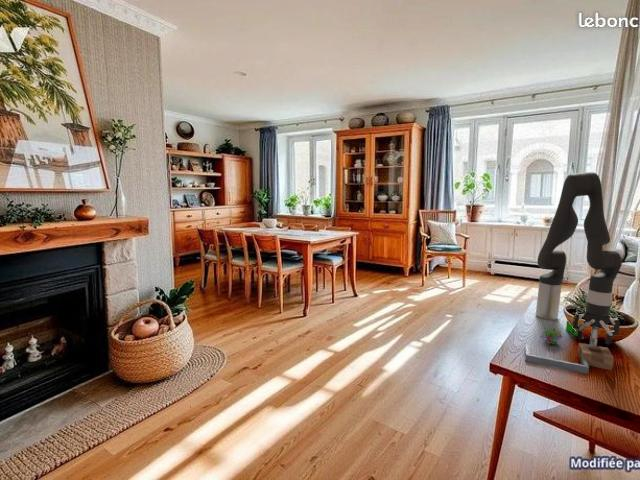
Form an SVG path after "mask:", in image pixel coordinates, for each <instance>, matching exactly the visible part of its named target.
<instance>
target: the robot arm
mask: <svg viewBox="0 0 640 480" xmlns="http://www.w3.org/2000/svg"><path fill="white" fill-rule="evenodd" d="M584 196H585V197H586V196H587V198H588V201H589V207H588V211H587V213H586V216H585V218H584V221H583V230H584V233H585V237H586V242H587V246H586V247H587V248H586V262H587V264H588V266H589V267H590V268H592V269H594V270H599V272H598V273H595V274H592V275H591V276H590V279H589V283H588V284H589V286H588V291H587V293H586V294H587V295H586V301H585V302H586V303H585V308H584V309H585V313H584V314H578V313H577V312H576V313H575V315H574V319H573V324H572V325H573V328H576V329H578V331H577V336H576V337H577V338H578V340H581V341H582V340H583V339H582V334H583V331H582V330H583V329H584V328H587V327H588V326H591V327H594V326H595V327H599V328H602V327H603V328H604V329H605V330H606V331H605V344H606V345H610V344H611V343H612V340H613V339H612V338H613V336H618V335H620V320H619V319H618V317H615V318H612V317H610V315H611V307H612V303H613V302H612V299H613V286H614V281H615V280H616V278H617V276H618V274H619V272H620V270H621V267H622V264H623V259H622V256H621V254H620V253H619V252H617V251H615V250H604V249H603V248H604V247H603V246H605V245H608V244H609V243H610V242H611V237H610V233H609V230H608V225H607V223H606V219H605V212H604V211H605V209H604V199H603V198H604V197H603V190H602V182H601V179H600V176H599V174H597V173H596V172H594V171H590V172H578V173H570V174H569V175H568V176H566V178H565V179H564V182H563V185H562V189H561V193H560V198H559V201H558V205H557V208H556V210H555V213H554V216H553V218H552V221H551V224H550V227H549V230H548V232H547V236H546V239H545V241H544V243H543V244H542V247H541V249H540V251H539V253H538V256H537V265H538V267H539V268H540V269H545V270H552V271H549V272H548V273H545V274H541V275H540V276H539V281H538V290H537V291H538V292H537V297H536V310H535V316H536V317H538V318H541V319H543V320H548V321H549V320H550V321H555V320H558V319H559V318H558V317H559V311H560V302H561V293H562V284H563V280H564V276H565V269H566V265H567V254H566V253H565V251H564V250H560V249H559V250H557V249H556V248H557V247H559V246H560V245H562V244H563V243H565V242H567V241H568V240H569V239H570V238H572V236H573V235H574V233H575V231H576V229H577V226H578V225H579V217H578V215H577V213H576V211H575V208H574V202H575V199H576V198H577V197H584ZM555 249H556V250H555ZM582 317H583V318H584V319H585V321H583V322H582V324H580V325H579V326H578V320H579V319H581V318H582ZM610 322H611V324H612V325H613V330H611V329H610V328H609V326H608V324H609V323H610Z"/></svg>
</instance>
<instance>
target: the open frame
mask: <svg viewBox="0 0 640 480" xmlns="http://www.w3.org/2000/svg"><path fill="white" fill-rule="evenodd" d="M529 348H530V347H529V343H524V359H525V360H524V361H525V362H529V363H533V364H539V365H543V366H548V367H553V368H558V369H561V370H568V371H572V372H578V373H581V374H586V375H588V374H589V369H590V366H588V364H587V361H586V359H585V358H582V359H581V354H580V359H579V362H580V364H579V363H576V362H569V361H566V360H560V359H554V358H550V357H544V356H539V355H534V354H530V350H529ZM581 361H582V362H581Z"/></svg>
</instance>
